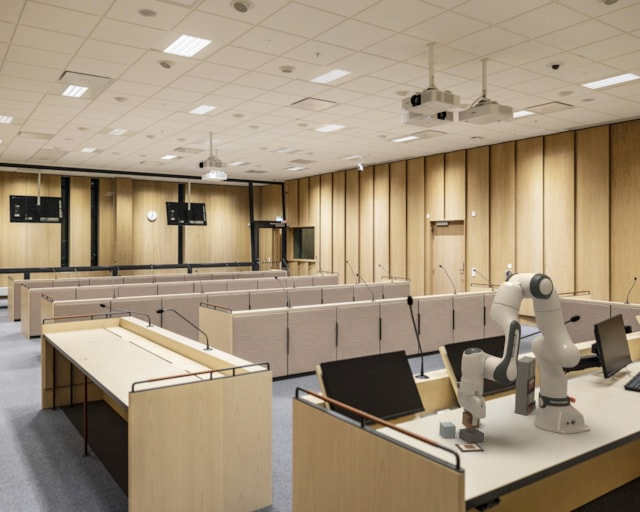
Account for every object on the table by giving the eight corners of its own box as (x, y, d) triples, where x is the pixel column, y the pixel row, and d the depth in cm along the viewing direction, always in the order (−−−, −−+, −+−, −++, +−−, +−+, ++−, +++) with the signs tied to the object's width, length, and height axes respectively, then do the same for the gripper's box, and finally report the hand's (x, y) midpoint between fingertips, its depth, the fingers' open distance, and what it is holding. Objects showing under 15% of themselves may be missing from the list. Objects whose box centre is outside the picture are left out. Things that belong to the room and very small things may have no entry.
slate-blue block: (450, 433, 221) (451, 422, 221) (455, 438, 216) (455, 426, 216) (439, 434, 221) (439, 422, 220) (443, 438, 216) (444, 426, 215)
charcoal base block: (473, 436, 219) (473, 427, 219) (484, 443, 212) (484, 433, 212) (459, 438, 216) (459, 429, 216) (469, 445, 210) (469, 435, 210)
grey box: (527, 416, 245) (529, 363, 244) (514, 413, 249) (516, 360, 248) (536, 408, 256) (537, 357, 256) (523, 406, 260) (524, 356, 259)
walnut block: (473, 423, 217) (474, 411, 217) (478, 427, 212) (479, 415, 212) (462, 423, 217) (462, 411, 216) (467, 428, 212) (467, 415, 211)
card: (476, 444, 210) (476, 442, 210) (484, 451, 203) (484, 449, 203) (454, 444, 209) (454, 443, 209) (461, 452, 202) (461, 450, 202)
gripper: (490, 395, 204) (489, 431, 204) (469, 381, 224) (468, 413, 225) (475, 396, 203) (474, 431, 204) (455, 381, 223) (453, 413, 224)
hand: (470, 421), depth 214 cm, fingers closed on walnut block, 5 cm apart
